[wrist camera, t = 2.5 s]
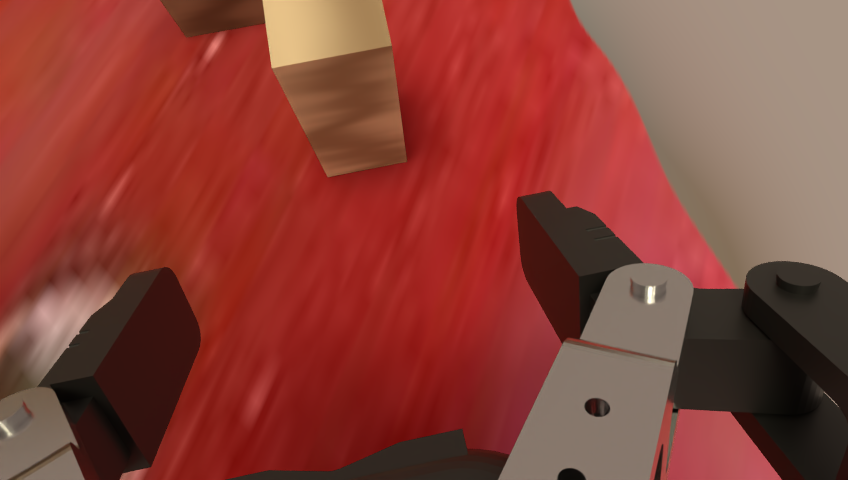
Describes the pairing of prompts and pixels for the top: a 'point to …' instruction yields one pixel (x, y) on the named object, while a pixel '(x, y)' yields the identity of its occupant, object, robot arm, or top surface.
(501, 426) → the top surface
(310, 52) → the pillar
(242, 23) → the slab base
